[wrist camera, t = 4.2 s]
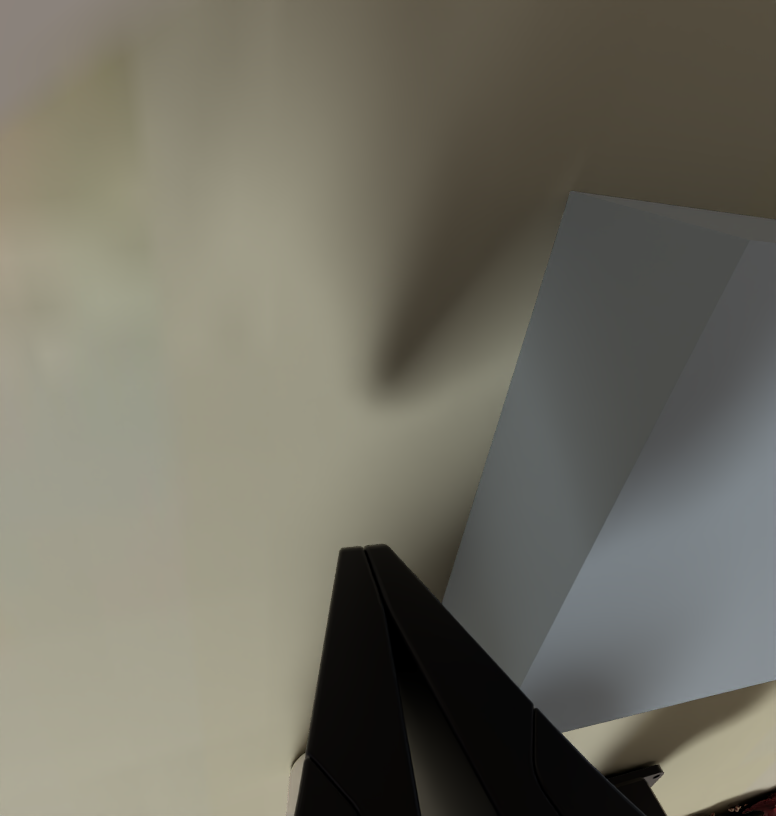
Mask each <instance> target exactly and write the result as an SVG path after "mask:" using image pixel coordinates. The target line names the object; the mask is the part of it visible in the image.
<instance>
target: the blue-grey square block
mask: <svg viewBox="0 0 776 816" xmlns="http://www.w3.org/2000/svg"><path fill="white" fill-rule="evenodd" d="M442 605H443V606H444V607H445V608H446V609H447V610H448V611H449V612H450V613H451V614H452V616H453V617H454V618H455V619H456V620H457V621H458V622H459V623H460V624H461V625H462V626H463V627H464V629H465V630H466V631H467V632H468V633H469V634H470V635H471V636H472V637H473V638H474V639H475V640H476V642H477V643H478V644H479V645H480V646H481V647H482V648H483V649H484V650H485V651H486V652H487V654H488V655H489V656H490V657H491V658H492V659H493V660H494V661H495V662H496V663H497V664H498V665H499V667H500V668H501V669H502V670H503V671H504V672H505V673H506V674H507V675H508V676H509V677H510V678H511V680H512V681H513V682H514V683H515V684H516V685H517V686H518V687H519V688H520V689H521V690H522V692H523V693H524V694H525V695H526V696H527V697H528V698H529V699H530V700H531V701H532V702H533V704H534V708H538V709H539V710H540V711H541V712H542V713H543V714H544V715H545V716H546V717H547V718H548V719H549V721H550V722H551V723H552V724H553V725H554V726H555V727H556V728H557V729H558V730H559V731H560V732H561V733H563V732H567V731H571V730H575V729H579V728H583V727H587V726H591V725H595V724H599V723H603V722H607V721H611V720H615V719H619V718H623V717H627V716H631V715H635V714H640V713H644V712H648V711H652V710H656V709H660V708H664V707H668V706H672V705H676V704H680V703H684V702H688V701H692V700H696V699H700V698H704V697H708V696H712V695H716V694H720V693H724V692H729V691H733V690H737V689H741V688H745V687H749V686H753V685H757V684H761V683H765V682H769V681H773V680H776V219H769V218H762V217H754V216H747V215H740V214H733V213H726V212H719V211H711V210H704V209H697V208H690V207H683V206H676V205H669V204H661V203H654V202H647V201H640V200H633V199H626V198H618V197H611V196H604V195H597V194H590V193H583V192H575V191H570V194H569V197H568V200H567V203H566V207H565V210H564V213H563V216H562V219H561V223H560V226H559V229H558V232H557V236H556V239H555V242H554V245H553V248H552V252H551V255H550V258H549V261H548V264H547V268H546V271H545V274H544V277H543V280H542V284H541V287H540V290H539V293H538V296H537V300H536V303H535V306H534V309H533V312H532V316H531V319H530V322H529V325H528V328H527V332H526V335H525V338H524V341H523V344H522V348H521V351H520V354H519V357H518V360H517V364H516V367H515V370H514V373H513V376H512V380H511V383H510V386H509V389H508V392H507V396H506V399H505V402H504V405H503V409H502V412H501V415H500V418H499V421H498V425H497V428H496V431H495V434H494V437H493V441H492V444H491V447H490V450H489V453H488V457H487V460H486V463H485V466H484V469H483V473H482V476H481V479H480V482H479V485H478V489H477V492H476V495H475V498H474V501H473V505H472V508H471V511H470V514H469V517H468V521H467V524H466V527H465V530H464V533H463V537H462V540H461V543H460V546H459V549H458V553H457V556H456V559H455V562H454V565H453V569H452V572H451V575H450V578H449V581H448V585H447V588H446V591H445V594H444V598H443V601H442Z"/></svg>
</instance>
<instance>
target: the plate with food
mask: <svg viewBox="0 0 776 816" xmlns="http://www.w3.org/2000/svg"><path fill="white" fill-rule="evenodd" d="M775 790H776V789H775ZM769 795H771V796H769ZM769 795H767V796H769V797H768V799H766V800H763V801H760V802H758V803H757V804H754V805H753V806H751V808H747V809H745V810H744V812H742V813H743V814H746V813H749V812H752V811H762V812H764V815H762V816H776V792H774V793H773V794H772V793H770V794H769ZM769 798H770V799H769ZM746 805H748V804H745V805H744V806H746ZM728 806H729V805H728ZM735 808H736V809H735V812H738V810H739V809H740V808H741V806H738V805H736V806H735ZM728 810H729V811H731V812H733V811H734V808H732V807H731V809H729V808H728ZM714 815H715V814H714V813H712V814H711V816H714Z"/></svg>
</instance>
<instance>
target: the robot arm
mask: <svg viewBox="0 0 776 816" xmlns="http://www.w3.org/2000/svg"><path fill="white" fill-rule="evenodd" d="M663 774H664V772H663V771H662V769H661V767H660V766H659V765H654V766H650V767H647V768H643V769H640V770H636V771H633V772H629V773H626V774H622V775H619V776H615V777H612V778H608V779H606V778H605V777H604V776H603V775H602V774H601V773H600V772H599V771H598V770H597V769H596V768H595V767H594V766H593V765H592V764H591V763H590V762H589V761H588V760H587V759H586V758H585V757H584V756H583V755H582V754H581V753H580V752H579V751H578V750H577V749H576V748H575V747H574V746H573V745H572V744H571V743H570V742H569V741H568V740H567V739H566V738H565V737H564V735H563V734H562V733H561V732H560V731H559V730H558V729H557V728H556V727H555V726H554V725H553V724H552V723H551V722H550V721H549V719H548V718H547V717H546V716H545V715H544V714H543V713H542V712H541V711H540V710H539V709H538V708H534V704H533V702H532V701H531V700H530V699H529V698H528V697H527V696H526V695H525V694H524V693H523V692H522V690H521V689H520V688H519V687H518V686H517V685H516V684H515V683H514V682H513V681H512V680H511V678H510V677H509V676H508V675H507V674H506V673H505V672H504V671H503V670H502V669H501V668H500V667H499V665H498V664H497V663H496V662H495V661H494V660H493V659H492V658H491V657H490V656H489V655H488V654H487V652H486V651H485V650H484V649H483V648H482V647H481V646H480V645H479V644H478V643H477V642H476V640H475V639H474V638H473V637H472V636H471V635H470V634H469V633H468V632H467V631H466V630H465V629H464V627H463V626H462V625H461V624H460V623H459V622H458V621H457V620H456V619H455V618H454V617H453V616H452V614H451V613H450V612H449V611H448V610H447V609H446V608H445V607H444V606H443V605H442V604H441V603H440V601H439V600H438V599H437V598H436V597H435V596H434V595H433V594H432V593H431V592H430V591H429V589H428V588H427V587H426V586H425V585H424V584H423V583H422V582H421V581H420V580H419V579H418V578H417V576H416V575H415V574H414V573H413V572H412V571H411V570H410V569H409V568H408V567H407V566H406V565H405V563H404V562H403V561H402V560H401V559H400V558H399V557H398V556H397V555H396V554H395V553H394V551H393V550H392V549H391V548H390V547H389V546H387V545H385V544H376V545H367V546H365V547H364V548H362V547H361V546H356V547H346V548H341V549H340V551H339V556H338V562H337V568H336V574H335V580H334V586H333V592H332V598H331V604H330V610H329V616H328V621H327V627H326V633H325V639H324V645H323V651H322V657H321V663H320V669H319V675H318V681H317V687H316V693H315V699H314V705H313V711H312V717H311V723H310V728H309V734H308V740H307V746H306V752H305V760H304V762H303V768H302V774H301V780H300V786H299V792H298V797H297V802H296V807H295V812H294V816H667V815H666V813H665V811H664V809H663V808H662V806H661V804H660V803H659V801H658V799H657V798H656V796H655V794H654V793H653V791H652V789H651V787H652V786H653V785H654V783H655V782H656V781H657V780H658V779H659V778H660V777H661V776H662V775H663Z"/></svg>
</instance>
